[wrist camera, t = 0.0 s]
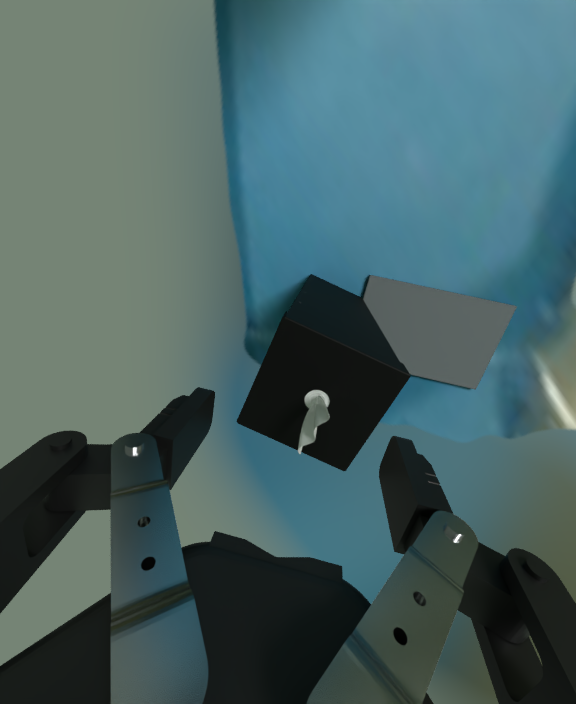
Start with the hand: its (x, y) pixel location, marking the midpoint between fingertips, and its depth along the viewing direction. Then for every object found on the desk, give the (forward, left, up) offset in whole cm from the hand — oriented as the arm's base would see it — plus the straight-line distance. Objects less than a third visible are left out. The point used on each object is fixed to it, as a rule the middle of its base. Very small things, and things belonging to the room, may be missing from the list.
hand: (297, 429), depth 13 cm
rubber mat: (+1, +15, -29) cm, 33 cm away
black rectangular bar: (+1, +1, -30) cm, 30 cm away
